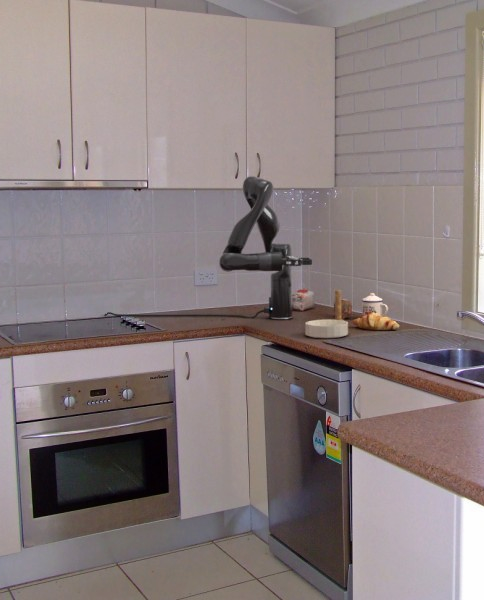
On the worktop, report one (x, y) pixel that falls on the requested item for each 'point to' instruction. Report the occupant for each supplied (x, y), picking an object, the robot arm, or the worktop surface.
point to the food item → (303, 300)
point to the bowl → (326, 328)
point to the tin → (345, 309)
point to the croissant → (375, 322)
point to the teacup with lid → (373, 305)
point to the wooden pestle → (338, 305)
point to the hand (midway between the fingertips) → (310, 261)
